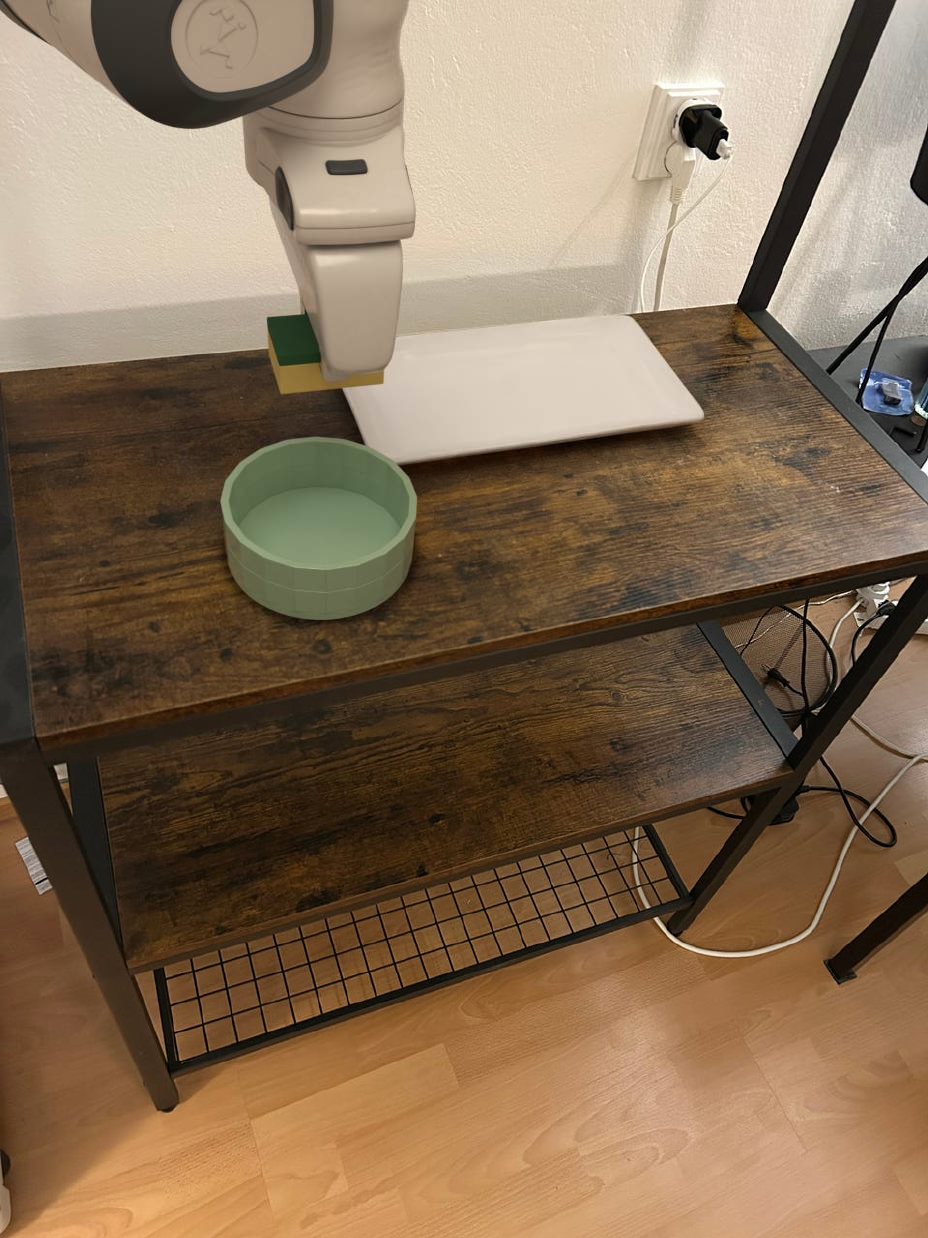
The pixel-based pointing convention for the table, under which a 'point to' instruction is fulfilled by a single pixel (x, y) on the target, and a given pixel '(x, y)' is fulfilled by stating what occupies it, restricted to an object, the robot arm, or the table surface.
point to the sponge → (303, 357)
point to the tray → (518, 389)
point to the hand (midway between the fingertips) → (324, 349)
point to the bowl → (318, 527)
